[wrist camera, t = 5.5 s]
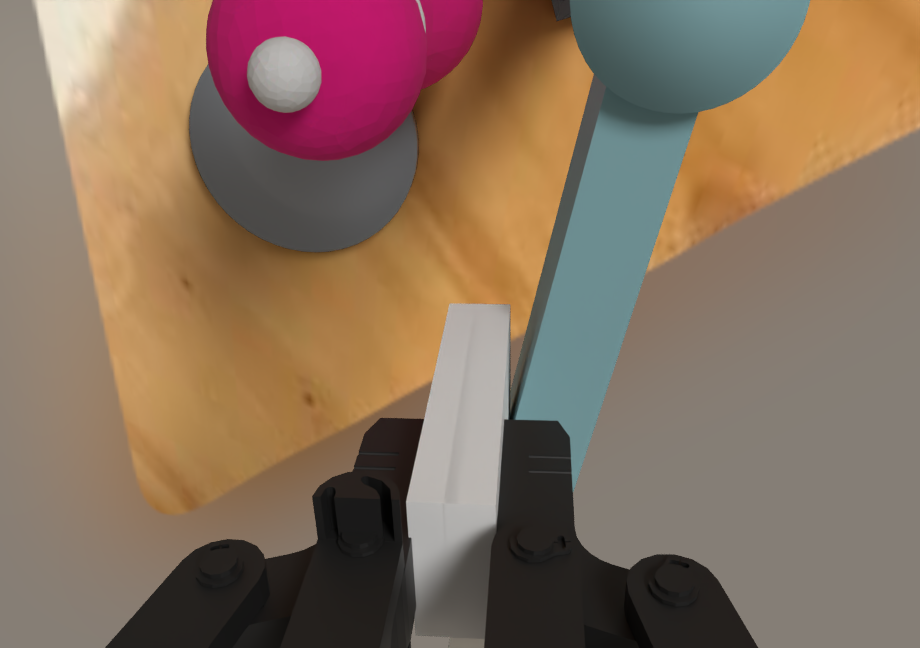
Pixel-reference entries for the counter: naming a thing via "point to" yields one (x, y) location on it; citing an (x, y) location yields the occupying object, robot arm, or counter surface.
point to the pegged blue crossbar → (629, 183)
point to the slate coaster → (299, 180)
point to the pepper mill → (332, 66)
